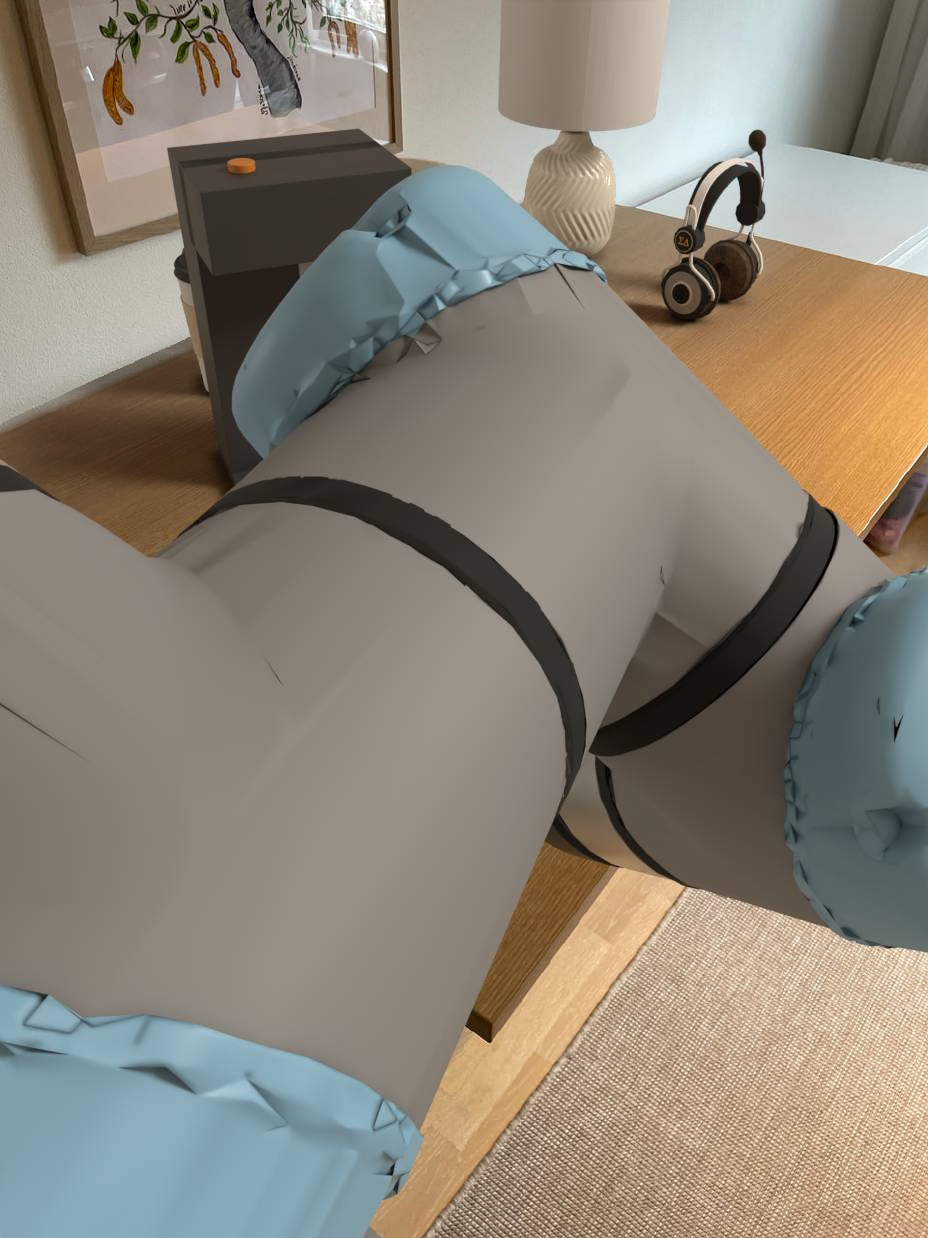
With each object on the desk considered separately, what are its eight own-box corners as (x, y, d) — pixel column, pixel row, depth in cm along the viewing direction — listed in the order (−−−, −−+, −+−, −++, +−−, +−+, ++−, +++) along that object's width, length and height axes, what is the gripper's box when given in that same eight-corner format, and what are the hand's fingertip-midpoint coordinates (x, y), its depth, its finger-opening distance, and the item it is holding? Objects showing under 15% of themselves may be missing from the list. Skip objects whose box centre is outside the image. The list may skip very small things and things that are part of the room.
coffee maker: (449, 525, 87) (451, 188, 68) (274, 568, 82) (224, 216, 63) (374, 424, 100) (358, 120, 82) (219, 456, 95) (165, 139, 76)
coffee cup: (177, 383, 106) (150, 244, 97) (241, 356, 112) (222, 222, 102) (230, 410, 102) (208, 267, 92) (295, 380, 107) (280, 242, 98)
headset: (717, 279, 131) (747, 116, 118) (768, 296, 127) (805, 129, 114) (643, 317, 121) (667, 144, 108) (697, 336, 117) (728, 158, 104)
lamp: (648, 279, 131) (693, -52, 107) (497, 279, 130) (508, -55, 106) (626, 227, 146) (661, -73, 122) (491, 227, 146) (499, -75, 122)
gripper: (306, 1009, 28) (246, 896, 48) (964, 751, 36) (675, 747, 56) (236, 756, 28) (205, 749, 48) (904, 555, 36) (638, 621, 56)
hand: (457, 748), depth 52 cm, fingers open, 13 cm apart
